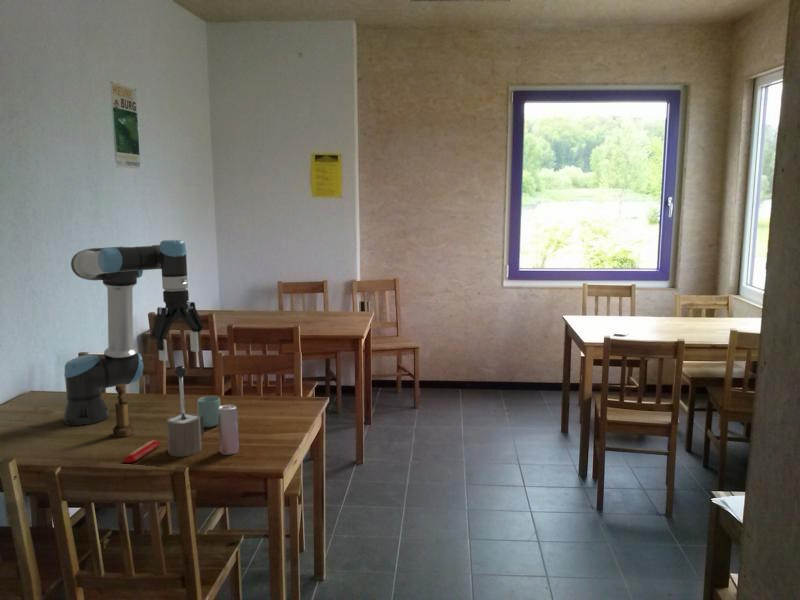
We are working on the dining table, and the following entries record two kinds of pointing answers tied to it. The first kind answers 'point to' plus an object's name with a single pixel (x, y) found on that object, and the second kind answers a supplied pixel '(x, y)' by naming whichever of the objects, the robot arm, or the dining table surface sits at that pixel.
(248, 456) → the dining table surface
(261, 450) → the dining table surface
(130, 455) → the candy bar
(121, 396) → the mortar and pestle
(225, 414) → the beverage can
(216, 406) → the cup
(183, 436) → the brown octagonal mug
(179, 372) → the joystick
